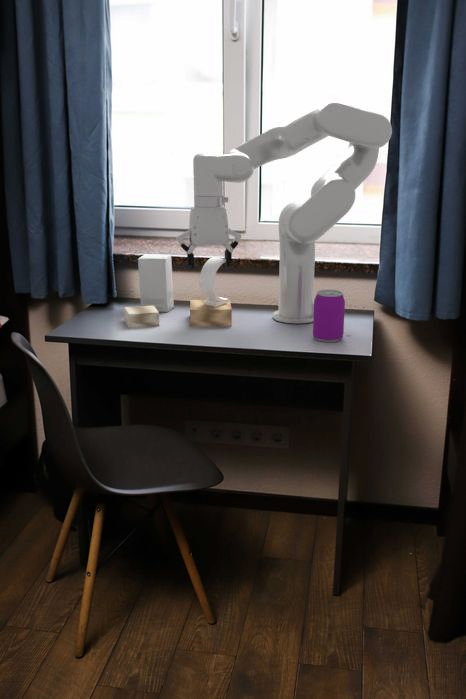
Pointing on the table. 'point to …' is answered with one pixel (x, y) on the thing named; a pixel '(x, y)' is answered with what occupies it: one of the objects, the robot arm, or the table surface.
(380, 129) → the robot arm
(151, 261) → the skincare box
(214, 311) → the oak block
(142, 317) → the birch block
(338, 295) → the beverage can
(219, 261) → the white crescent piece
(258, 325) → the table surface
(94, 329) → the table surface
